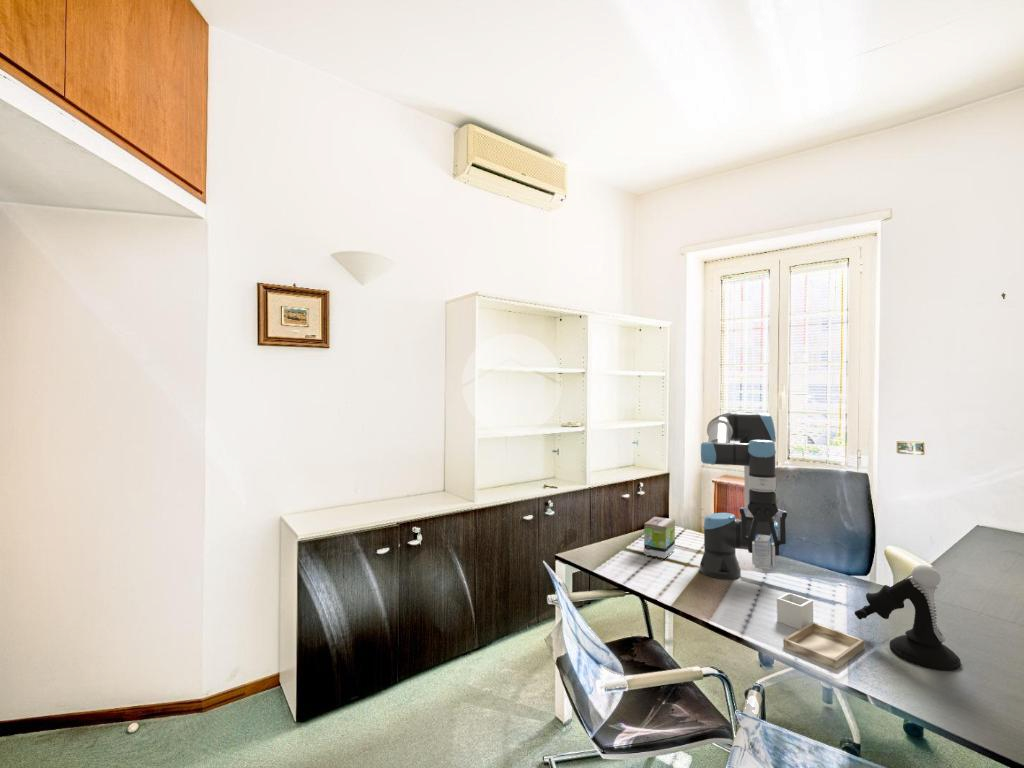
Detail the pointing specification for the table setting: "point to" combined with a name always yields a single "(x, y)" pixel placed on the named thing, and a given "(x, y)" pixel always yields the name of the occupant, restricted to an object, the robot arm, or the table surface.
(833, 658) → the birch tray
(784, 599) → the pen cup
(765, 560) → the medicine box
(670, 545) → the tea box
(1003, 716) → the table surface
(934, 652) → the sculpture
